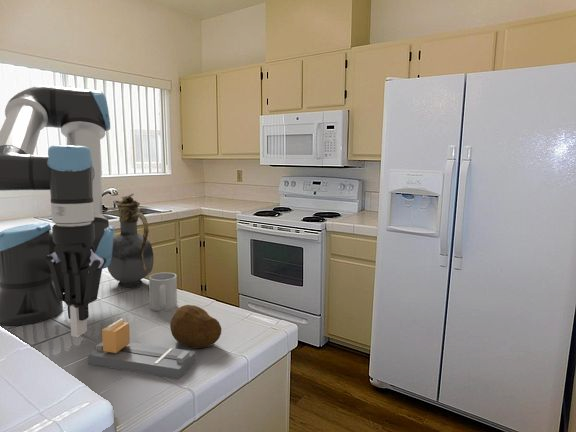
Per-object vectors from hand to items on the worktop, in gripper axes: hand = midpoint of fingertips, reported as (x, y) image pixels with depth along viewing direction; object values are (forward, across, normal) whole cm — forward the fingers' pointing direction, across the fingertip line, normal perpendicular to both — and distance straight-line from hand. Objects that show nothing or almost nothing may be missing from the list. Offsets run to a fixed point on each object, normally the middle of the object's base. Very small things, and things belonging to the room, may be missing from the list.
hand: (79, 333), depth 81 cm
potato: (+5, +21, +10) cm, 24 cm away
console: (+4, +15, 0) cm, 15 cm away
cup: (+5, +4, +27) cm, 27 cm away
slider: (+2, +9, 0) cm, 9 cm away
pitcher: (+4, -16, +41) cm, 44 cm away
